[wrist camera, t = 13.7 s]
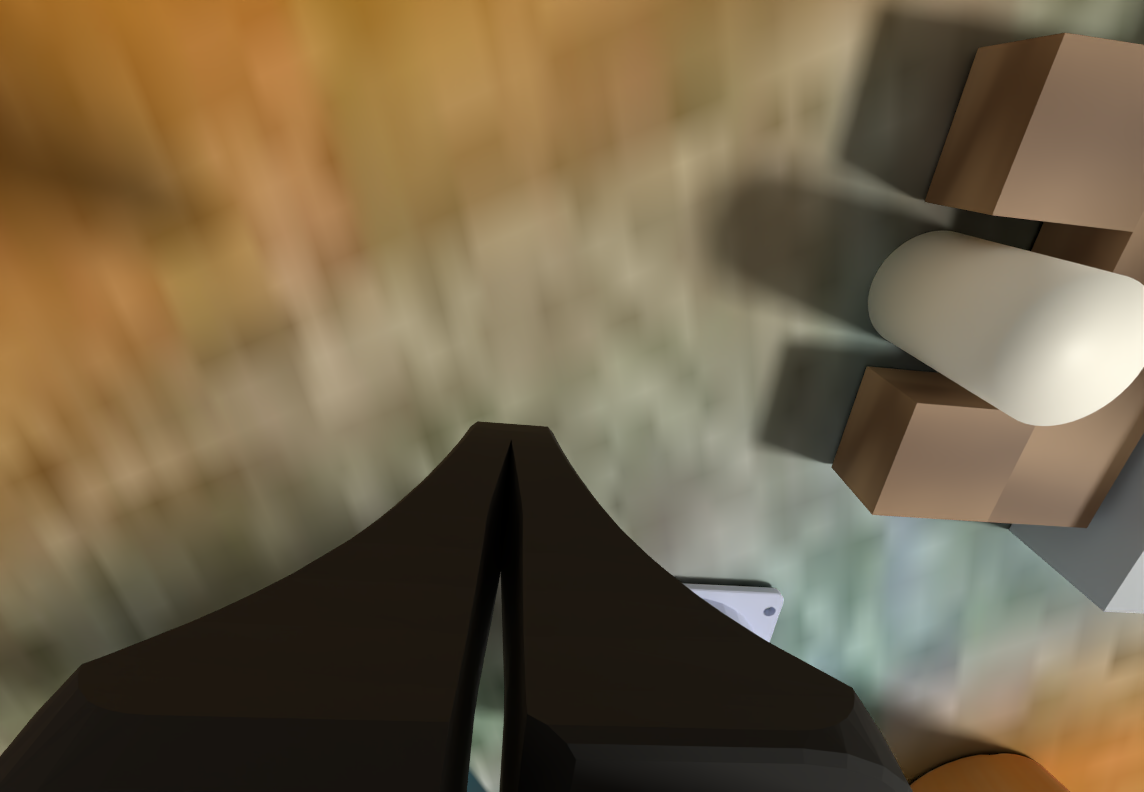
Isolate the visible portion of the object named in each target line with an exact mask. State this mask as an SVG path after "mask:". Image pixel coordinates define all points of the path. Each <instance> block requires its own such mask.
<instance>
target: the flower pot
mask: <svg viewBox="0 0 1144 792" xmlns="http://www.w3.org/2000/svg"><path fill="white" fill-rule="evenodd" d="M910 787H911V789H912V791H913V792H1070V791H1069V790H1068V789H1067V788H1066V787H1065V786H1064V785H1062V784H1061V783H1060V782H1059V781H1058V780H1057V779H1056V778H1055V777H1054V776H1053V775H1051V774H1050V773H1049V772H1048V771H1047V770H1046V769H1045V768H1044V767H1043V766H1042V765H1040V764H1039V763H1037V762H1036V761H1034V760H1032V759H1029V758H1027V757H1024V756H1020V755H1016V754H1008V753H1000V754H995V755H975V756H970V757H966V758H962V759H959V760H956V761H953V762H950V763H947V764H944V765H942V766H940V767H938V768H936V769H934V770H932V771H930V772H928V773H926V774H925V775H923V776H922V777H920V778H919V779H917V780H916V781H915V782H913V783H912V784H911V785H910Z"/></svg>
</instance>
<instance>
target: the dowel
mask: <svg viewBox="0 0 1144 792" xmlns="http://www.w3.org/2000/svg"><path fill="white" fill-rule="evenodd" d="M868 313H869V317H870V320H871V323H872V325H873V327H874V328H875V330H876V331H877V332H878V333H879V335H881V336H882V337H883V338H884V339H886V340H887V341H889V342H891V343H892V344H894V345H896V346H897V347H899V348H900V349H902V350H904V351H905V352H907V353H908V354H910V355H912V356H913V357H915V358H917V359H918V360H920V361H921V362H923V363H925V364H926V365H928V366H930V367H931V368H933V369H934V370H936V371H938V372H939V373H941V374H943V375H944V376H946V377H947V378H949V379H951V380H952V381H954V382H955V383H957V384H959V385H960V386H962V387H964V388H965V389H967V390H968V391H970V392H972V393H973V394H975V395H977V396H978V397H980V398H981V399H983V400H985V401H986V402H988V403H990V404H991V405H993V406H994V407H996V408H998V409H999V410H1001V411H1002V412H1004V413H1006V414H1007V415H1009V416H1011V417H1012V418H1014V419H1016V420H1017V421H1020V422H1023V423H1025V424H1030V425H1035V426H1054V425H1060V424H1065V423H1069V422H1073V421H1075V420H1078V419H1081V418H1083V417H1086V416H1088V415H1090V414H1092V413H1094V412H1096V411H1097V410H1099V409H1101V408H1102V407H1104V406H1105V405H1107V404H1108V403H1110V402H1111V401H1112V400H1114V399H1115V398H1116V397H1117V396H1118V395H1120V394H1121V393H1122V392H1123V391H1124V390H1125V389H1126V388H1127V387H1128V386H1129V385H1130V384H1131V383H1132V382H1133V381H1134V379H1135V378H1136V377H1137V376H1138V375H1139V373H1140V372H1141V370H1142V369H1143V367H1144V285H1143V284H1141V283H1140V282H1138V281H1137V280H1135V279H1133V278H1130V277H1128V276H1124V275H1120V274H1116V273H1112V272H1109V271H1105V270H1101V269H1097V268H1093V267H1089V266H1085V265H1081V264H1078V263H1074V262H1070V261H1066V260H1062V259H1058V258H1054V257H1050V256H1046V255H1043V254H1039V253H1035V252H1031V251H1027V250H1023V249H1019V248H1015V247H1012V246H1008V245H1004V244H1000V243H996V242H992V241H988V240H984V239H980V238H977V237H973V236H969V235H965V234H961V233H957V232H953V231H945V230H944V231H932V232H928V233H924V234H921V235H918V236H916V237H914V238H912V239H910V240H908V241H906V242H905V243H903V244H902V245H901V246H899V247H898V248H897V249H896V250H894V251H893V252H892V253H891V254H890V255H889V256H888V257H887V258H886V260H885V261H884V262H883V263H882V265H881V266H880V268H879V269H878V271H877V273H876V274H875V277H874V279H873V281H872V284H871V287H870V290H869V295H868Z"/></svg>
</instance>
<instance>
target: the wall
mask: <svg viewBox="0 0 1144 792" xmlns="http://www.w3.org/2000/svg"><path fill="white" fill-rule="evenodd" d="M1009 531H1010V532H1012V533H1013V534H1014V535H1015V536H1016V537H1017V538H1019V539H1020V540H1021V541H1022V542H1023V543H1024V544H1026V545H1027V546H1028V547H1029V548H1030V549H1031V550H1033V551H1034V552H1035V553H1036V554H1037V555H1038V556H1040V557H1041V558H1042V559H1043V560H1044V561H1045V562H1047V563H1048V564H1049V565H1050V566H1051V567H1052V568H1054V569H1055V570H1056V571H1057V572H1058V573H1059V574H1061V575H1062V576H1063V577H1064V578H1065V579H1066V580H1068V581H1069V582H1070V583H1071V584H1072V585H1073V586H1075V587H1076V588H1077V589H1078V590H1079V591H1080V592H1082V593H1083V594H1084V595H1085V596H1086V597H1087V598H1089V599H1090V600H1091V601H1092V602H1093V603H1094V604H1096V605H1097V606H1098V607H1099V608H1100V609H1101V610H1103V611H1104V612H1125V613H1144V433H1143V435H1142V436H1141V438H1140V440H1139V441H1138V443H1137V445H1136V447H1135V448H1134V450H1133V452H1132V453H1131V455H1130V457H1129V458H1128V460H1127V462H1126V463H1125V465H1124V467H1123V468H1122V470H1121V472H1120V473H1119V475H1118V477H1117V478H1116V480H1115V482H1114V484H1113V485H1112V487H1111V489H1110V490H1109V492H1108V494H1107V495H1106V497H1105V499H1104V500H1103V502H1102V504H1101V505H1100V507H1099V509H1098V510H1097V512H1096V514H1095V515H1094V517H1093V519H1092V521H1091V522H1090V524H1089V526H1088V527H1087V528H1076V527H1060V526H1044V525H1028V524H1012V525H1011V527H1010V529H1009Z"/></svg>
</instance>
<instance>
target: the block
mask: <svg viewBox="0 0 1144 792" xmlns="http://www.w3.org/2000/svg"><path fill="white" fill-rule="evenodd" d="M925 202H928V203H933V204H938V205H943V206H948V207H953V208H959V209H964V210H969V211H974V212H979V213H984V214H989V215H995V216H1003V217H1012V218H1020V219H1029V220H1037V221H1044V223H1043V225H1042V227H1041V230H1040V232H1039V234H1038V237H1037V239H1036V241H1035V243H1034V246H1033V248H1032V250H1031V252H1035V253H1039V254H1043V255H1046V256H1050V257H1054V258H1058V259H1062V260H1066V261H1070V262H1074V263H1078V264H1081V265H1085V266H1089V267H1093V268H1097V269H1101V270H1105V271H1109V272H1112V273H1116V274H1120V275H1124V276H1128V277H1130V278H1133V279H1135V280H1137V281H1138V282H1140V283H1141V284H1143V285H1144V45H1142V44H1135V43H1129V42H1122V41H1116V40H1109V39H1103V38H1096V37H1090V36H1083V35H1077V34H1070V33H1061V34H1055V35H1049V36H1044V37H1038V38H1032V39H1026V40H1021V41H1015V42H1009V43H1004V44H998V45H992V46H986V47H981V48H978V50H977V53H976V56H975V59H974V62H973V65H972V67H971V70H970V73H969V76H968V79H967V82H966V85H965V87H964V90H963V93H962V96H961V99H960V102H959V105H958V107H957V110H956V113H955V116H954V119H953V122H952V125H951V127H950V130H949V133H948V136H947V139H946V142H945V145H944V147H943V150H942V153H941V156H940V159H939V162H938V165H937V167H936V170H935V173H934V176H933V179H932V182H931V185H930V187H929V190H928V193H927V196H926V199H925ZM1143 433H1144V367H1143V369H1142V370H1141V372H1140V373H1139V375H1138V376H1137V377H1136V378H1135V379H1134V381H1133V382H1132V383H1131V384H1130V385H1129V386H1128V387H1127V388H1126V389H1125V390H1124V391H1123V392H1122V393H1121V394H1120V395H1118V396H1117V397H1116V398H1115V399H1114V400H1112V401H1111V402H1110V403H1108V404H1107V405H1105V406H1104V407H1102V408H1101V409H1099V410H1097V411H1096V412H1094V413H1092V414H1090V415H1088V416H1086V417H1083V418H1081V419H1078V420H1075V421H1073V422H1069V423H1065V424H1060V425H1054V426H1035V425H1030V424H1025V423H1023V422H1020V421H1017V420H1016V419H1014V418H1012V417H1011V416H1009V415H1007V414H1006V413H1004V412H1002V411H1001V410H999V409H998V408H996V407H994V406H993V405H991V404H990V403H988V402H986V401H985V400H983V399H981V398H980V397H978V396H977V395H975V394H973V393H972V392H970V391H968V390H967V389H965V388H964V387H962V386H960V385H959V384H957V383H955V382H954V381H952V380H951V379H949V378H947V377H946V376H944V375H943V374H941V373H936V372H925V371H913V370H902V369H891V368H880V367H868V366H867V367H866V370H865V373H864V376H863V379H862V382H861V385H860V387H859V390H858V393H857V396H856V399H855V402H854V405H853V407H852V410H851V413H850V416H849V419H848V422H847V425H846V427H845V430H844V433H843V436H842V439H841V442H840V445H839V447H838V450H837V453H836V456H835V459H834V462H833V465H832V468H833V470H834V471H835V472H836V473H837V474H838V475H839V477H840V478H841V479H842V480H843V481H844V482H845V484H846V485H847V486H848V487H849V488H850V489H851V490H852V492H853V493H854V494H855V495H856V496H857V497H858V499H859V500H860V501H861V502H862V503H863V504H864V506H865V507H866V508H867V509H868V510H869V511H870V513H871V514H872V515H885V516H901V517H916V518H932V519H948V520H964V521H980V522H996V523H1012V524H1028V525H1044V526H1060V527H1076V528H1087V527H1088V526H1089V524H1090V522H1091V521H1092V519H1093V517H1094V515H1095V514H1096V512H1097V510H1098V509H1099V507H1100V505H1101V504H1102V502H1103V500H1104V499H1105V497H1106V495H1107V494H1108V492H1109V490H1110V489H1111V487H1112V485H1113V484H1114V482H1115V480H1116V478H1117V477H1118V475H1119V473H1120V472H1121V470H1122V468H1123V467H1124V465H1125V463H1126V462H1127V460H1128V458H1129V457H1130V455H1131V453H1132V452H1133V450H1134V448H1135V447H1136V445H1137V443H1138V441H1139V440H1140V438H1141V436H1142V435H1143Z"/></svg>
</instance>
